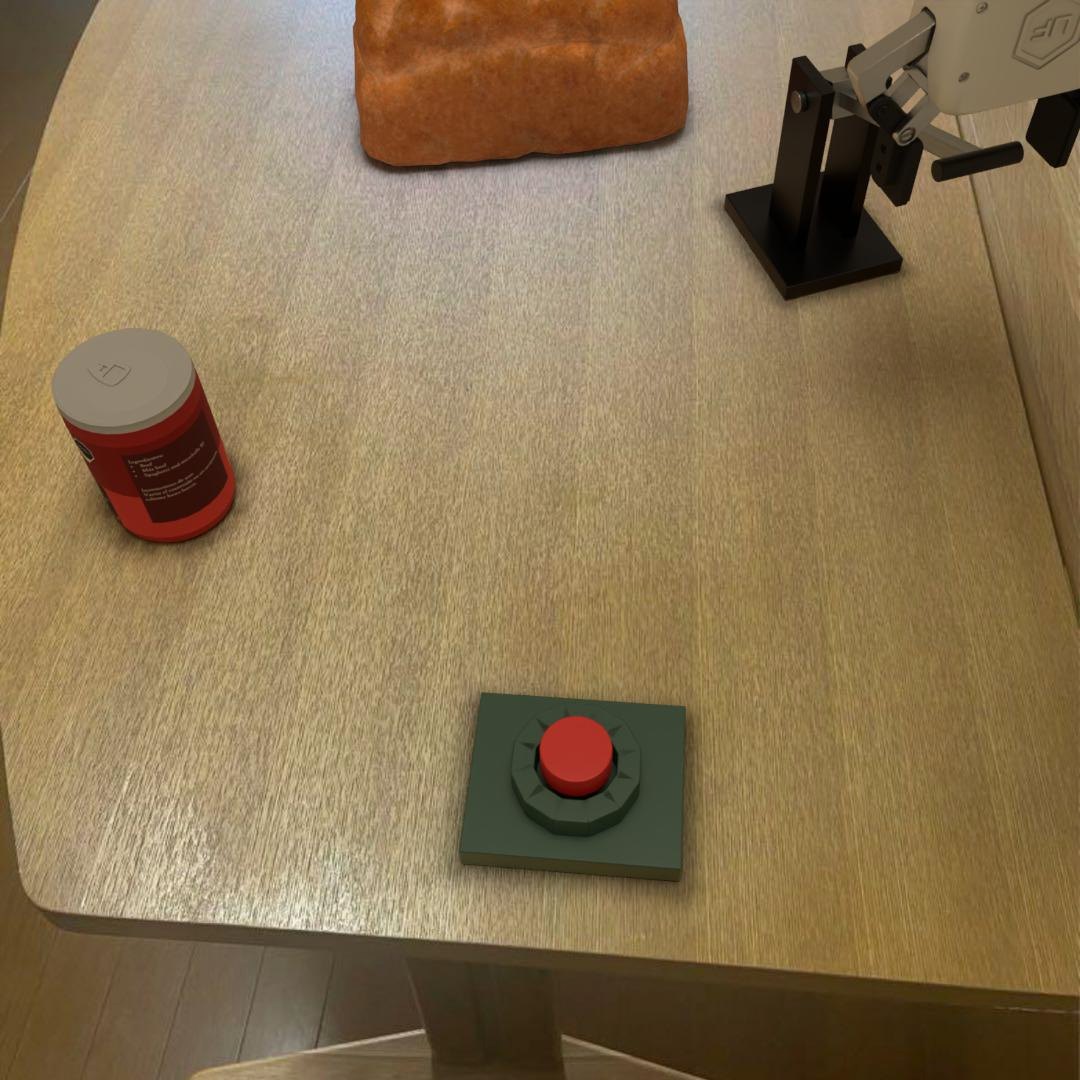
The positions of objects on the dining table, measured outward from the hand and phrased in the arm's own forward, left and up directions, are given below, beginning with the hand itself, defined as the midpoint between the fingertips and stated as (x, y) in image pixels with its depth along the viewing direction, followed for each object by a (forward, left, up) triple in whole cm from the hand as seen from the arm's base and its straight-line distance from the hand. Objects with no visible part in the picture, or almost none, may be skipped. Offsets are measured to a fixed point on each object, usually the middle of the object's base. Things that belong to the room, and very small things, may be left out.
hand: (967, 172), depth 66 cm
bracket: (+12, -8, -16) cm, 22 cm away
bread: (+39, -8, -16) cm, 43 cm away
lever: (+6, -4, -3) cm, 8 cm away
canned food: (+32, +36, -16) cm, 51 cm away
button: (0, +37, -13) cm, 39 cm away
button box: (0, +37, -16) cm, 40 cm away
